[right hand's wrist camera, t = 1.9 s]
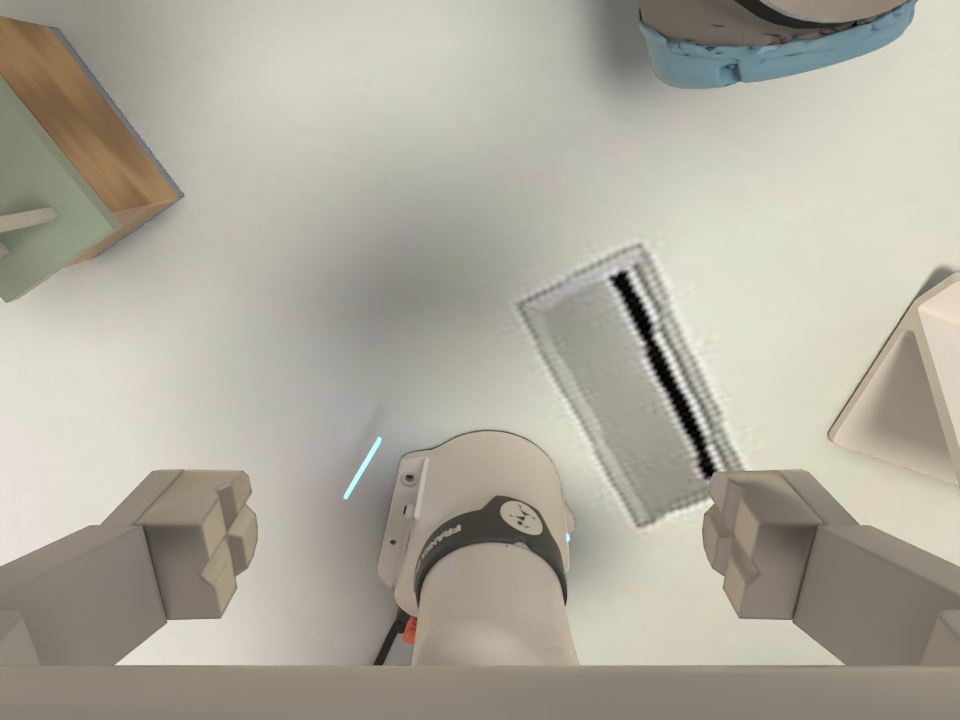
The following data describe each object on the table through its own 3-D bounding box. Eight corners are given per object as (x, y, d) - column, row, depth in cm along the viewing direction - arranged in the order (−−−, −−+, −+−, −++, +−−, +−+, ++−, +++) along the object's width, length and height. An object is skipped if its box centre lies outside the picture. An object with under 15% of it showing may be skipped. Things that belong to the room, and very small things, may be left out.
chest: (184, 195, 48) (113, 212, 38) (96, 256, 50) (8, 286, 40) (57, 28, 43) (-58, 1, 34) (-34, 101, 45) (-167, 95, 36)
